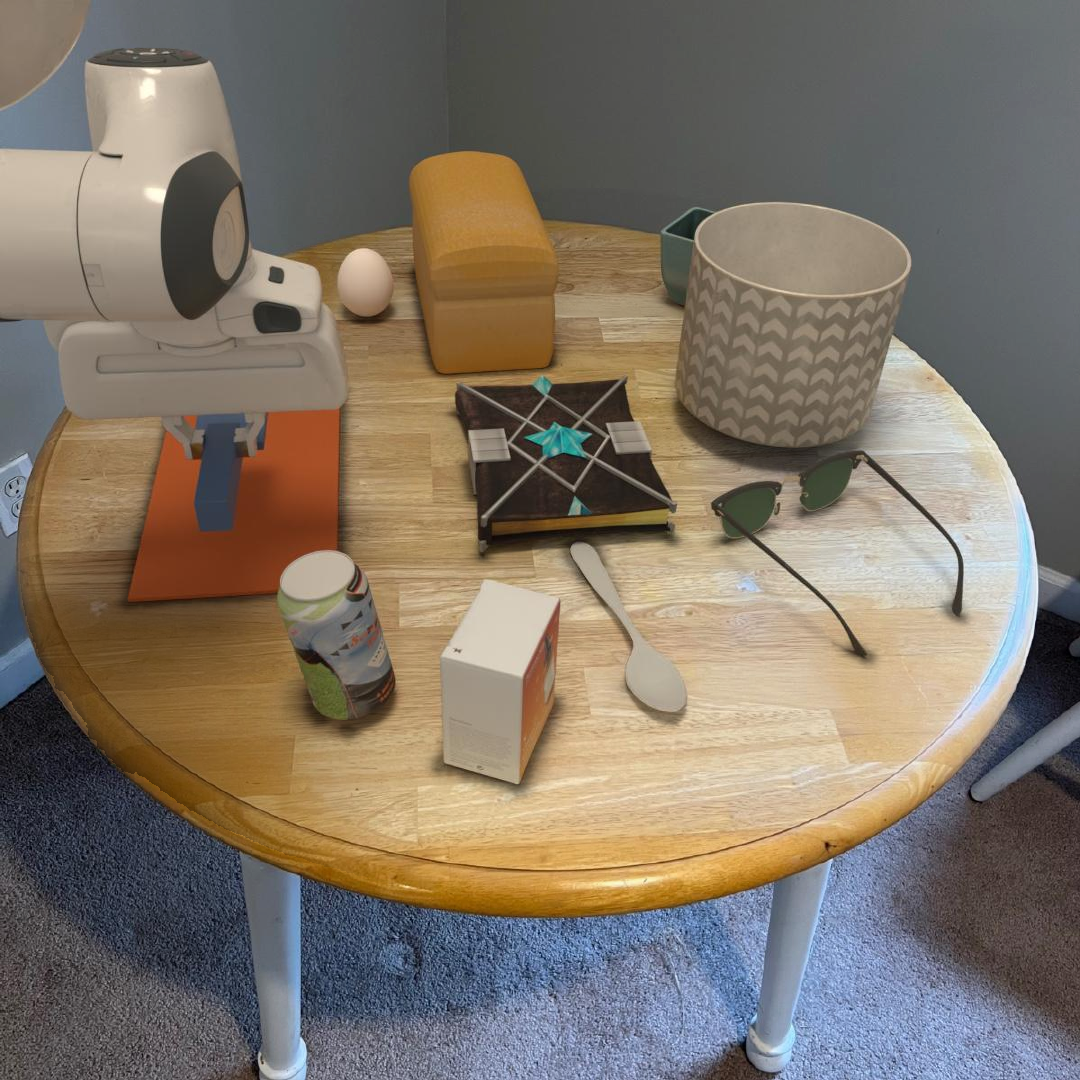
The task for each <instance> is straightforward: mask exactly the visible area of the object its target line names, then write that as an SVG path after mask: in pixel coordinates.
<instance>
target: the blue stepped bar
mask: <svg viewBox="0 0 1080 1080" xmlns="http://www.w3.org/2000/svg"><path fill="white" fill-rule="evenodd" d="M267 420H268V412H266V414H265V423H264V425H263V426H262V428H261V430H260V432H259V433H258V435H257V437H256V439H257V450H264V446H265V438H266V429H267ZM247 424H248V423H247V422H246V420H245V415H244V413H241V414H217V415H197V420H196V425H195V430H205V433H206V439H205V445H204V450H203V455H202V460H201V465H200V471H199V476H198V482H197V487H196V492H195V498H194V507H195V512H196V516H197V521H198V526H199V531H200V532H204V531H226V530H233V525H234V518H235V511H236V503H237V496H238V489H239V482H240V474H241V467H242V460H243V457H237V454H236V451H237V450H236V449H235V446H234V436H235V429H236V428H246V426H247Z"/></svg>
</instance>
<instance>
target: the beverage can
mask: <svg viewBox="0 0 1080 1080" xmlns="http://www.w3.org/2000/svg"><path fill="white" fill-rule="evenodd" d="M276 602H277V608H278V610H279V613H280V616H281V619H282V621H283V624H284V627H285V630H286V632H287V635H288V637H289V640H290V643H291V647H292V649H293V652H294V654H295V657H296V660H297V663H298V665H299V669H300V671H301V674H302V676H303V677H302V678H303V679H304V683H305V685H306V688H307V691H308V695H309V696H310V699H311V701H312V704H313V706H314V708H315V709H316V711H318V712H319V713H320V714H321V715H322V716H325V717H327V718H330V719H333V720H340V721H343V720H344V721H345V720H347V721H349V720H355V719H359V718H362V717H363V718H364V717H365V716H367V715H371V714H372V713H373V712H376V711H377V710H379V709H380V708H381V707H382V706H384V705H385V704H386V703H387V702H388V700H389V699H390V698H391V696H393V695H392V694H393V692H394V691H395V687H396V675H395V671H394V668H393V664H392V660H391V657H390V654H389V650H388V646H387V643H386V640H385V636H384V632H383V629H382V626H381V622H380V619H379V614H378V612H377V608H376V604H375V601H374V598H373V594H372V590H371V587H370V583H369V580H368V577H367V575H366V573H365V571H364V570H363V569H362V567H360V566H359V565H358V564H357V563H355V562H354V560H353V559H352V558H351V557H350V556H349V555H347V554H346V553H344V552H341V551H339V550H337V551H331V550H325V551H317V552H313V553H309V554H307V555H304V556H302V557H300V558H298V559H297V560H295V561H293V562H292V563H291V564H290V565H289V566H288V567H287V568H286V569H285V570H284V572H283V573H282V576H281V579H280V588H279V590H278V593H277V596H276Z"/></svg>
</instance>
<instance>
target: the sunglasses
mask: <svg viewBox="0 0 1080 1080" xmlns="http://www.w3.org/2000/svg"><path fill="white" fill-rule="evenodd" d="M862 461H863V462H864V463H865V464H866V465H867V466H868V467H870V468H871V469H872V470H873V471H875V472H876V474H878V475H879V476H880V477H881V478H882V479H883V480H885V481H886V482H887V483H888V484H889V485H890V486H891V487H892V488H893V489H895V490H896V491H897V492H898V493H899V494H900V495H901V496H902V497H903V498H905V499H906V501H907V502H909V503H910V504H911V505H912V506H913V507H914V508H916V510H917V511H918V512H919V513H920V514H922V515H923V516H924V518H926V520H927V521H929V522H930V523H931V525H933V526H934V527H935V528H936V529H937V530H938V532H940V533H941V535H942V536H944V538H945V539H946V540H947V541H948V543H949V544H950V545H951V547H952V549H953V550H954V552H955V555H956V559H957V568H958V569H957V581H956V588H955V593H954V598H953V600H952V605H951V608H952V612H953V613H954V614H955V615H957V616H959V615H961V613H962V611H963V610H962V609H963V594H964V593H963V592H964V576H965V571H964V566H965V565H964V558H963V556H962V553H961V550H960V548H959V546H958V545H957V543H956V541H954V539H953V538H952V537H951V535H950V533H949V532H948V531H947V530H946V529H945V528H944V527H943V526H942V525H941V524H940V522H939V521H938V520H937V519H936V517H934V516H933V515H932V514H931V513H930V512H929V511H928V510H927V509H926V508H925V507H924V506H923V505H922V504H921V503H920V502H919V501H918V500H917V499H915V498H914V496H913V495H911V493H910V492H908V491H907V490H906V489H905V488H904V487H903V486H902V485H901V484H900V483H899V482H898V480H896V479H895V478H894V477H892V475H890V474H889V473H888V472H887V470H885V469H884V468H883V467H882V466H881V465H880V464H879V463H878V462H876V461H875V460H874V459H873V458H872V457H871V456H870V455H869V454H868V453H866V452H865V450H862V449H857V450H856V449H855V450H848V451H842V452H839V453H834V454H831V455H828V456H826V457H823V458H821V459H819V460H816V461H815V462H813V463H812V464H810V465H809V466H807V467H806V468H805V469H803V470H802V471H801V472H800V473H799V474H798V475H797V476H796V475H789V476H786V477H785V478H783V479H782V480H781V483H780V481H775V480H772V481H771V480H763V481H754V482H749V483H745V484H744V485H740V486H737V487H735V488H733V489H731V490H729V491H726V492H724V493H723V494H721V495H720V496H717V497H716V498H715V499H713V500H712V501H711V502H710V508H711V510H712V511H714V515H715V516H716V517H718V518H719V522H720V526H721V529H722V532H723V533H724V535H725V536H726V537H727V538H730V539H741V538H745V537H746V538H747V539H748V541H750V542H751V543H753V544H754V545H755V546H756V547H758V548H759V549H760V550H761V551H762V552H764V553H765V554H766V555H767V556H769V557H770V558H771V559H772V560H774V562H776V563H777V564H778V565H780V567H782V568H783V569H785V571H787V572H788V573H789V574H790V575H791V576H793V577H794V578H795V579H796V580H798V581H799V582H800V583H801V584H802V585H804V586H805V587H806V588H807V589H808V590H810V591H811V592H812V593H813V594H814V595H815V596H817V598H818V599H820V600H821V601H822V602H823V603H824V604H825V605H826V606H827V607H828V608H829V609H830V611H831V612H832V613H833V614H834V615H835V617H836V618H837V619H838V621H839V622H840V624H841V626H842V627H843V629H844V631H845V633H846V635H847V637H848V639H849V641H850V643H851V647H852V648H853V650H854V651H855V653H858V654H859V655H861V656H863V657H867V656H868V653H867V651H866V650H865V649H864V648H863V646H862V644H861V643H860V642H859V640H858V639H857V637H856V635H855V634H854V633H853V631H852V630H851V628H850V626H848V623H847V622H846V620H845V619H844V618H843V616H842V615H841V614H840V612H839V611H838V610H837V609H836V608H835V606H834V605H833V604H832V603H831V602H830V601H829V599H828V598H826V596H824V595H823V593H821V592H820V591H819V590H818V589H817V588H815V586H813V585H812V584H811V583H810V582H809V581H808V580H807V579H806V578H804V577H803V576H802V575H801V574H800V573H798V572H797V571H796V570H795V569H794V568H793V567H792V566H790V565H789V564H788V563H787V562H786V561H785V560H783V559H782V558H781V557H780V556H778V554H776V553H775V552H774V551H773V550H771V549H770V548H769V547H768V546H767V545H766V544H765V543H763V542H762V541H761V540H760V539H759V538H757V537H756V536H755V535H754V534H755V533H757V532H759V531H760V530H761V529H762V528H764V527H765V526H766V525H767V523H768V522H769V521H770V519H771V518H772V516H773V515H774V516H778V515H779V513H780V510H781V502H780V501H779V502H777V496H779V495H780V494H781V492H782V489H783V486H784V485H785V484H786V483H788V482H791V481H792V482H797V484H798V485H799V486H800V495H799V502H800V504H801V505H802V507H803V508H804V510H805V511H807V512H815V511H818V510H821V509H823V508H826V507H828V506H829V505H832V504H833V503H835V502H836V501H837V500H838V499H839V498H840V497H841V496H843V494H844V492H845V491H846V489H847V487H848V486H849V483H850V480H851V477H852V474H853V470H856V469H857V468H858V467H859V465H860V463H861V462H862Z"/></svg>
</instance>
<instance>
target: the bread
mask: <svg viewBox="0 0 1080 1080" xmlns="http://www.w3.org/2000/svg"><path fill="white" fill-rule="evenodd" d="M408 188H409V189H408V190H409V195H410V201H411V204H412V219H411V221H412V225H411V227H412V230H411V231H412V251H413V252H412V254H413V263H414V272H415V280H416V285H417V290H418V294H419V300H420V305H421V310H422V311H421V312H422V316H423V321H424V325H425V330H426V336H427V340H428V346H429V351H430V355H431V359H432V363H433V366H434V369H435V370H436V371H437V372H438V373H439V374H444V375H445V374H447V375H448V374H449V375H450V374H466V373H481V372H482V373H483V372H497V371H513V370H530V369H543V368H547V367H549V365H550V363H551V360H552V356H553V352H554V348H555V347H554V346H555V334H556V333H555V332H556V331H555V330H556V299H555V292H556V289H557V287H558V284H559V277H560V265H559V259H558V255H557V252H556V250H555V248H554V244H553V242H552V240H551V238H550V236H549V233H548V231H547V229H546V226H545V224H544V222H543V219H542V217H541V214H540V211H539V209H538V207H537V205H536V203H535V200H534V197H533V195H532V193H531V191H530V188H529V186H528V184H527V181H526V179H525V177H524V174H523V172H522V170H521V168H520V166H519V165H518V163H517V162H515V160H513V159H512V158H510V157H508V156H506V155H503V154H497V153H492V152H484V151H483V152H482V151H475V150H473V151H472V150H463V151H453V152H447V153H443V154H438V155H433V156H430V157H427V158H425V159H422V160H421V161H420V162H418V163H417V164H416V165H415V166H414V167H413V168H412V170H411V172H410V174H409V181H408Z"/></svg>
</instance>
